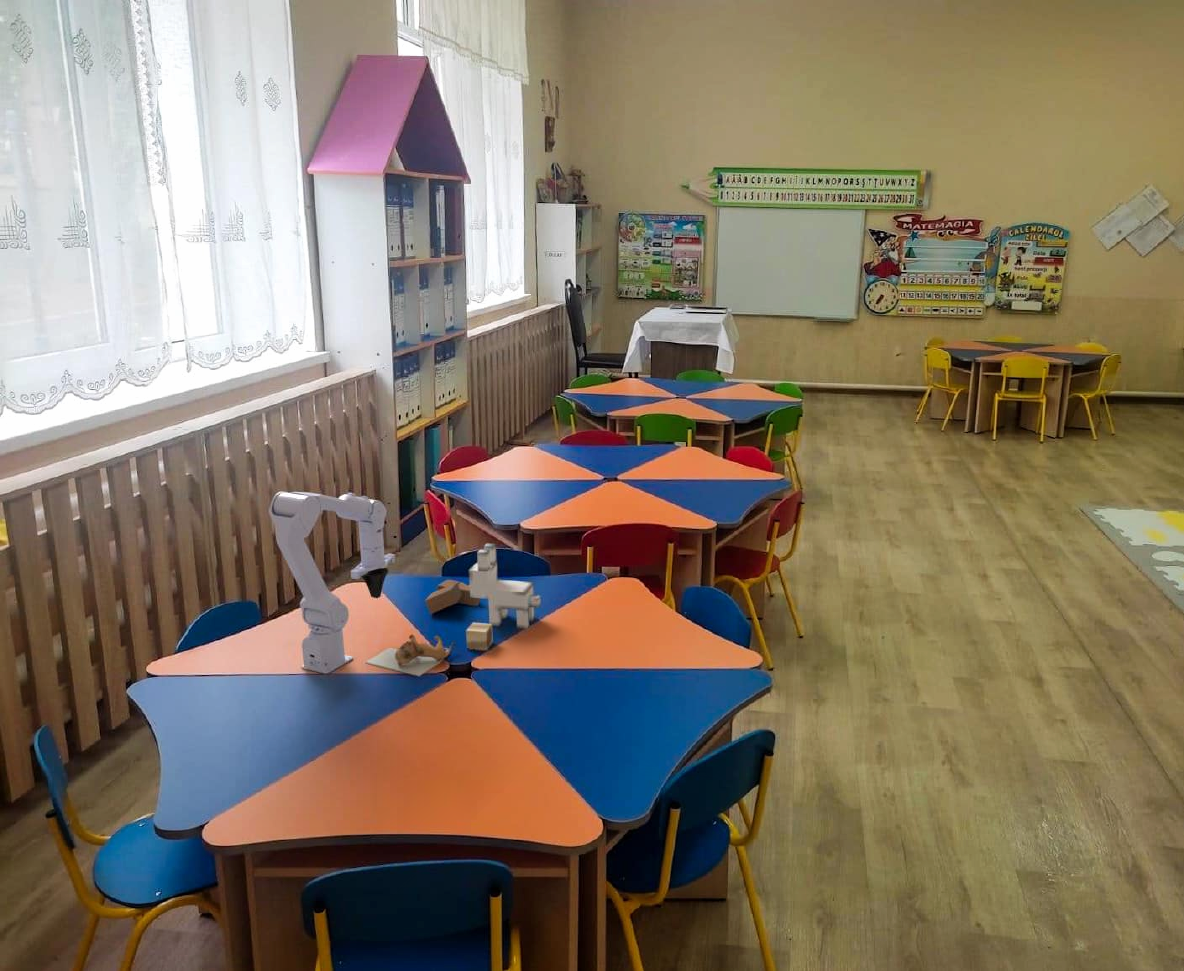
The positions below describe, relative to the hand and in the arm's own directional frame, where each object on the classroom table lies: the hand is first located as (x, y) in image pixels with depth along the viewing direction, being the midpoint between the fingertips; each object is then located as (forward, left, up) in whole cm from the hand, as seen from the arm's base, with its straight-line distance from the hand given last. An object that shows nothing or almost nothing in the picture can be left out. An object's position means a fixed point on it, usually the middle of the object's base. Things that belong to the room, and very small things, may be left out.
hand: (375, 596), depth 246 cm
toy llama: (+22, -25, -11) cm, 35 cm away
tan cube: (+6, -27, -10) cm, 30 cm away
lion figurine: (-4, -17, -8) cm, 19 cm away
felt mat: (-10, -16, -10) cm, 22 cm away
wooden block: (+26, -6, -11) cm, 28 cm away
